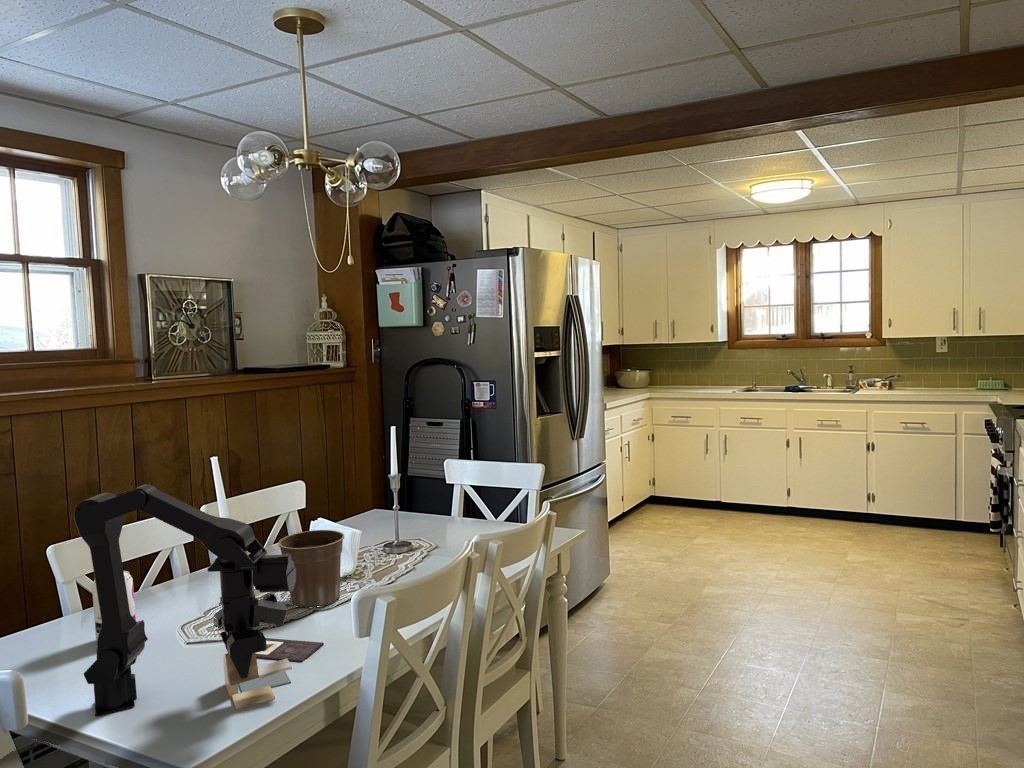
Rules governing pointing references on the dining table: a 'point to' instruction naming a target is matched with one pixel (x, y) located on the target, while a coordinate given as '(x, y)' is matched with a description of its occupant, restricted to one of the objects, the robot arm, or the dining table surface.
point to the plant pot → (315, 566)
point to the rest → (253, 697)
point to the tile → (230, 689)
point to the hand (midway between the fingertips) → (242, 674)
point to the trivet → (265, 682)
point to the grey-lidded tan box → (255, 669)
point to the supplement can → (130, 600)
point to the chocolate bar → (288, 650)
